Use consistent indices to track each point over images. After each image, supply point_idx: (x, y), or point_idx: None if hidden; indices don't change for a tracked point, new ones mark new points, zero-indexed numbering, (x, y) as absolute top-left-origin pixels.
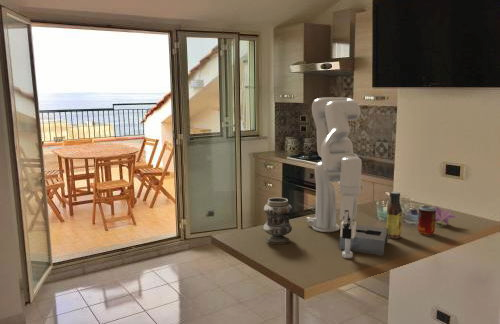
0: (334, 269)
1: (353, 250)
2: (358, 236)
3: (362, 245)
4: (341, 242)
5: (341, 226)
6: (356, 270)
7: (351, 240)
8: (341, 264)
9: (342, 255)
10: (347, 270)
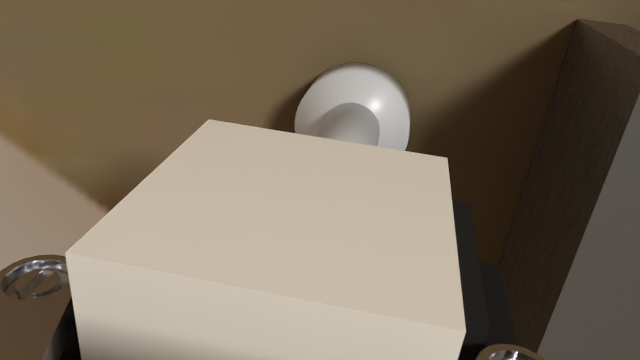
0: (14, 12)
1: (531, 175)
2: (597, 316)
3: (517, 292)
4: (598, 60)
5: (111, 231)
6: (88, 190)
7: (568, 205)
8: (150, 68)
9: (327, 72)
10: (53, 124)
